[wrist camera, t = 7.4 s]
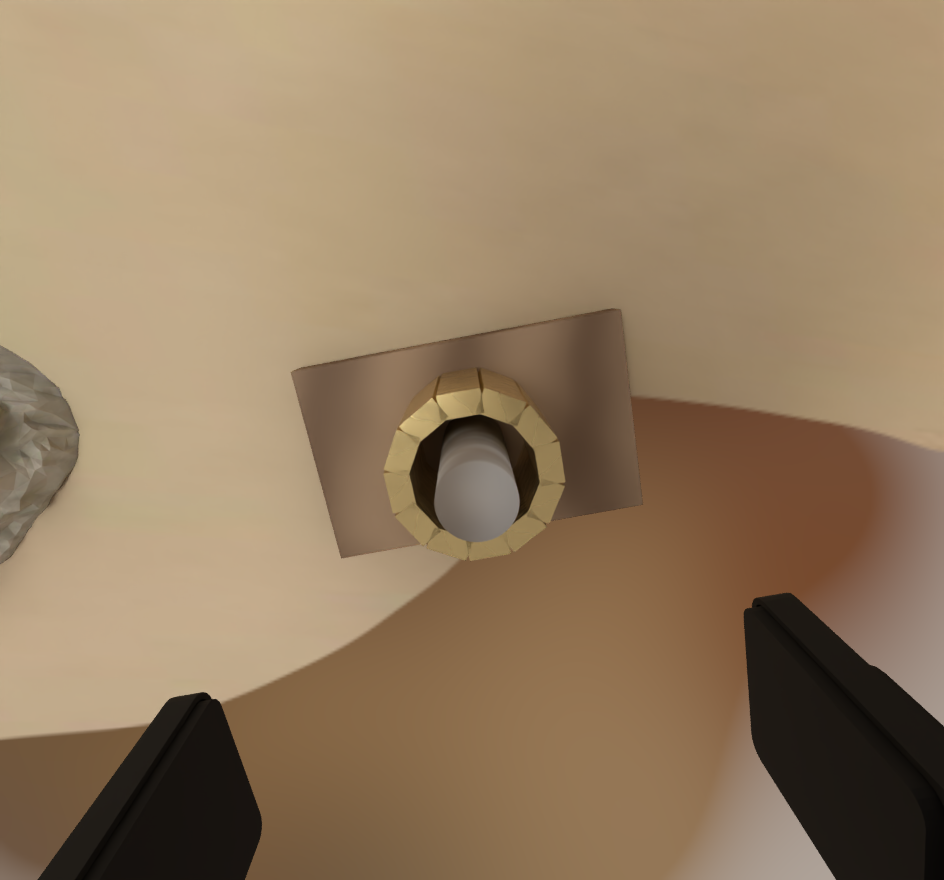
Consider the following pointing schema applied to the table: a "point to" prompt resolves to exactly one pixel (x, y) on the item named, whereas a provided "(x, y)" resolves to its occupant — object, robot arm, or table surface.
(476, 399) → the ring
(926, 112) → the table surface
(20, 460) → the ceramic cottage
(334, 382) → the post board
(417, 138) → the table surface
